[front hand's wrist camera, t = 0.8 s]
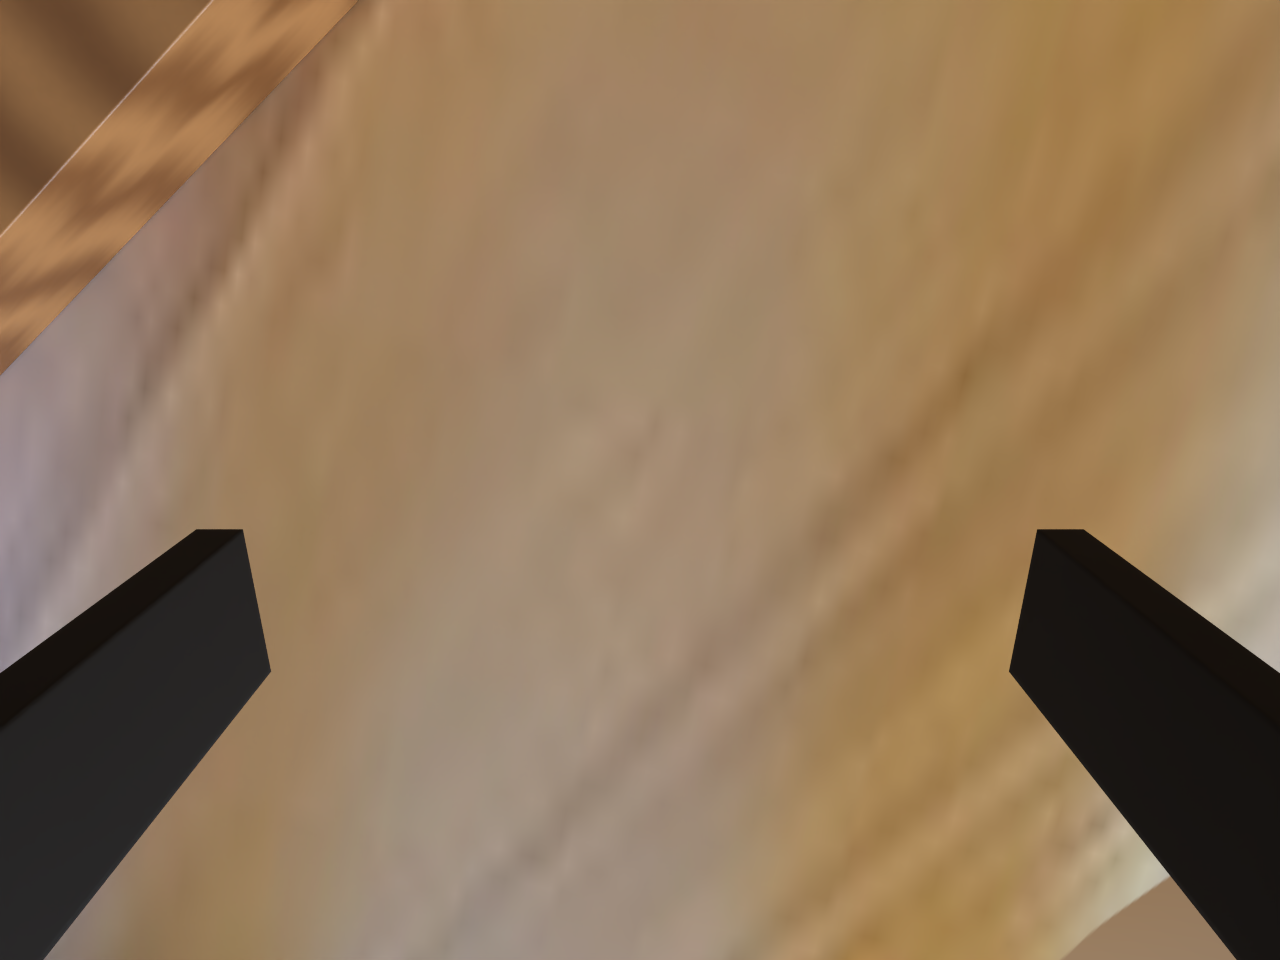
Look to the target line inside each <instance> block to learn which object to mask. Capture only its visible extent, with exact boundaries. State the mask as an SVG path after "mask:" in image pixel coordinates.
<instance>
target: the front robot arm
mask: <svg viewBox="0 0 1280 960" xmlns="http://www.w3.org/2000/svg"><path fill="white" fill-rule="evenodd" d="M270 672H271V669H270V664H269V659H268V654H267V649H266V644H265V639H264V634H263V629H262V624H261V619H260V614H259V609H258V604H257V599H256V594H255V589H254V584H253V579H252V574H251V569H250V563H249V558H248V553H247V548H246V543H245V538H244V533H243V529H196V530H195V531H194V532H192V533H191V534H189V535H188V536H187V537H185V538H184V539H183V540H181V541H180V542H179V543H177V544H176V545H174V546H173V547H172V548H170V549H169V550H168V551H166V552H165V553H164V554H162V555H161V556H159V557H158V558H157V559H155V560H154V561H153V562H151V563H150V564H149V565H147V566H146V567H144V568H143V569H142V570H140V571H139V572H138V573H136V574H135V575H134V576H132V577H131V578H129V579H128V580H127V581H125V582H124V583H123V584H121V585H120V586H119V587H117V588H116V589H114V590H113V591H112V592H110V593H109V594H108V595H106V596H105V597H104V598H102V599H101V600H99V601H98V602H97V603H95V604H94V605H93V606H91V607H90V608H89V609H87V610H86V611H84V612H83V613H82V614H80V615H79V616H78V617H76V618H75V619H74V620H72V621H71V622H69V623H68V624H67V625H65V626H64V627H63V628H61V629H60V630H59V631H57V632H56V633H54V634H53V635H52V636H50V637H49V638H48V639H46V640H45V641H44V642H42V643H41V644H39V645H38V646H37V647H35V648H34V649H33V650H31V651H30V652H29V653H27V654H26V655H24V656H23V657H22V658H20V659H19V660H18V661H16V662H15V663H14V664H12V665H11V666H9V667H8V668H7V669H5V670H4V671H3V672H1V673H0V960H43V959H44V958H45V957H46V956H47V954H48V953H49V952H50V951H51V949H52V948H53V947H54V946H55V944H56V943H57V942H58V940H59V939H60V938H61V937H62V935H63V934H64V933H65V932H66V930H67V929H68V928H69V927H70V925H71V924H72V923H73V922H74V920H75V919H76V918H77V916H78V915H79V914H80V913H81V911H82V910H83V909H84V908H85V906H86V905H87V904H88V903H89V901H90V900H91V899H92V897H93V896H94V895H95V894H96V892H97V891H98V890H99V889H100V887H101V886H102V885H103V884H104V882H105V881H106V880H107V878H108V877H109V876H110V875H111V873H112V872H113V871H114V870H115V868H116V867H117V866H118V865H119V863H120V862H121V861H122V859H123V858H124V857H125V856H126V854H127V853H128V852H129V851H130V849H131V848H132V847H133V846H134V844H135V843H136V842H137V840H138V839H139V838H140V837H141V835H142V834H143V833H144V832H145V830H146V829H147V828H148V827H149V825H150V824H151V823H152V821H153V820H154V819H155V818H156V816H157V815H158V814H159V813H160V811H161V810H162V809H163V808H164V806H165V805H166V804H167V802H168V801H169V800H170V799H171V797H172V796H173V795H174V794H175V792H176V791H177V790H178V789H179V787H180V786H181V785H182V783H183V782H184V781H185V780H186V778H187V777H188V776H189V775H190V773H191V772H192V771H193V770H194V768H195V767H196V766H197V764H198V763H199V762H200V761H201V759H202V758H203V757H204V756H205V754H206V753H207V752H208V751H209V749H210V748H211V747H212V746H213V744H214V743H215V742H216V740H217V739H218V738H219V737H220V735H221V734H222V733H223V732H224V730H225V729H226V728H227V727H228V725H229V724H230V723H231V721H232V720H233V719H234V718H235V716H236V715H237V714H238V713H239V711H240V710H241V709H242V708H243V706H244V705H245V704H246V702H247V701H248V700H249V699H250V697H251V696H252V695H253V694H254V692H255V691H256V690H257V689H258V687H259V686H260V685H261V683H262V682H263V681H264V680H265V678H266V677H267V676H268V675H269V673H270ZM1009 672H1010V673H1011V675H1012V676H1013V677H1014V678H1015V680H1016V681H1017V682H1018V683H1019V685H1020V686H1021V687H1022V689H1023V690H1024V691H1025V692H1026V694H1027V695H1028V696H1029V697H1030V699H1031V700H1032V701H1033V702H1034V704H1035V705H1036V706H1037V708H1038V709H1039V710H1040V711H1041V713H1042V714H1043V715H1044V716H1045V718H1046V719H1047V720H1048V721H1049V723H1050V724H1051V725H1052V727H1053V728H1054V729H1055V730H1056V732H1057V733H1058V734H1059V735H1060V737H1061V738H1062V739H1063V740H1064V742H1065V743H1066V744H1067V746H1068V747H1069V748H1070V749H1071V751H1072V752H1073V753H1074V754H1075V756H1076V757H1077V758H1078V759H1079V761H1080V762H1081V763H1082V764H1083V766H1084V767H1085V768H1086V770H1087V771H1088V772H1089V773H1090V775H1091V776H1092V777H1093V778H1094V780H1095V781H1096V782H1097V783H1098V785H1099V786H1100V787H1101V789H1102V790H1103V791H1104V792H1105V794H1106V795H1107V796H1108V797H1109V799H1110V800H1111V801H1112V802H1113V804H1114V805H1115V806H1116V808H1117V809H1118V810H1119V811H1120V813H1121V814H1122V815H1123V816H1124V818H1125V819H1126V820H1127V821H1128V823H1129V824H1130V825H1131V827H1132V828H1133V829H1134V830H1135V832H1136V833H1137V834H1138V835H1139V837H1140V838H1141V839H1142V840H1143V842H1144V843H1145V844H1146V846H1147V847H1148V848H1149V849H1150V851H1151V852H1152V853H1153V854H1154V856H1155V857H1156V858H1157V859H1158V861H1159V862H1160V863H1161V865H1162V866H1163V867H1164V868H1165V870H1166V871H1167V872H1168V873H1169V875H1170V876H1171V877H1172V878H1173V880H1174V881H1175V882H1176V883H1177V885H1178V886H1179V887H1180V889H1181V890H1182V891H1183V892H1184V894H1185V895H1186V896H1187V897H1188V899H1189V900H1190V901H1191V903H1192V904H1193V905H1194V906H1195V908H1196V909H1197V910H1198V911H1199V913H1200V914H1201V915H1202V916H1203V918H1204V919H1205V920H1206V921H1207V923H1208V924H1209V925H1210V927H1211V928H1212V929H1213V930H1214V932H1215V933H1216V934H1217V935H1218V937H1219V938H1220V939H1221V940H1222V942H1223V943H1224V944H1225V946H1226V947H1227V948H1228V949H1229V951H1230V952H1231V953H1232V954H1233V956H1234V957H1235V958H1236V959H1237V960H1280V673H1279V672H1277V671H1276V670H1275V669H1273V668H1272V667H1271V666H1269V665H1268V664H1266V663H1265V662H1264V661H1262V660H1261V659H1260V658H1258V657H1257V656H1256V655H1254V654H1253V653H1251V652H1250V651H1249V650H1247V649H1246V648H1245V647H1243V646H1242V645H1241V644H1239V643H1238V642H1236V641H1235V640H1234V639H1232V638H1231V637H1230V636H1228V635H1227V634H1226V633H1224V632H1223V631H1221V630H1220V629H1219V628H1217V627H1216V626H1215V625H1213V624H1212V623H1211V622H1209V621H1208V620H1206V619H1205V618H1204V617H1202V616H1201V615H1200V614H1198V613H1197V612H1196V611H1194V610H1193V609H1191V608H1190V607H1189V606H1187V605H1186V604H1185V603H1183V602H1182V601H1181V600H1179V599H1178V598H1176V597H1175V596H1174V595H1172V594H1171V593H1170V592H1168V591H1167V590H1166V589H1164V588H1163V587H1161V586H1160V585H1159V584H1157V583H1156V582H1155V581H1153V580H1152V579H1151V578H1149V577H1148V576H1146V575H1145V574H1144V573H1142V572H1141V571H1140V570H1138V569H1137V568H1136V567H1134V566H1133V565H1131V564H1130V563H1129V562H1127V561H1126V560H1125V559H1123V558H1122V557H1121V556H1119V555H1118V554H1116V553H1115V552H1114V551H1112V550H1111V549H1110V548H1108V547H1107V546H1106V545H1104V544H1103V543H1101V542H1100V541H1099V540H1097V539H1096V538H1095V537H1093V536H1092V535H1091V534H1089V533H1088V532H1086V531H1085V530H1084V529H1037V533H1036V538H1035V543H1034V548H1033V553H1032V558H1031V563H1030V569H1029V574H1028V579H1027V584H1026V589H1025V594H1024V599H1023V604H1022V609H1021V614H1020V619H1019V624H1018V629H1017V634H1016V639H1015V644H1014V649H1013V654H1012V659H1011V664H1010V669H1009Z"/></svg>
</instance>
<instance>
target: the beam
mask: <svg viewBox="0 0 1280 960" xmlns="http://www.w3.org/2000/svg"><path fill="white" fill-rule="evenodd" d="M357 1H358V0H0V375H1V374H2V373H3V372H4V371H5V370H6V369H7V368H8V367H9V366H10V365H11V364H12V362H13V361H14V360H15V359H16V358H17V357H18V356H19V355H20V354H21V353H22V352H23V351H24V350H25V349H26V348H27V347H28V346H29V345H30V344H31V343H32V342H33V340H34V339H35V338H36V337H37V336H38V335H39V334H40V333H41V332H42V331H43V330H44V329H45V328H46V327H47V326H48V325H49V324H50V323H51V322H52V321H53V320H54V319H55V317H56V316H57V315H58V314H59V313H60V312H61V311H62V310H63V309H64V308H65V307H66V306H67V305H68V304H69V303H70V302H71V301H72V300H73V299H74V298H75V297H76V295H77V294H78V293H79V292H80V291H81V290H82V289H83V288H84V287H85V286H86V285H87V284H88V283H89V282H90V281H91V280H92V279H93V278H94V277H95V276H96V275H97V274H98V272H99V271H100V270H101V269H102V268H103V267H104V266H105V265H106V264H107V263H108V262H109V261H110V260H111V259H112V258H113V257H114V256H115V255H116V254H117V253H118V252H119V250H120V249H121V248H122V247H123V246H124V245H125V244H126V243H127V242H128V241H129V240H130V239H131V238H132V237H133V236H134V235H135V234H136V233H137V232H138V231H139V230H140V228H141V227H142V226H143V225H144V224H145V223H146V222H147V221H148V220H149V219H150V218H151V217H152V216H153V215H154V214H155V213H156V212H157V211H158V210H159V209H160V208H161V207H162V205H163V204H164V203H165V202H166V201H167V200H168V199H169V198H170V197H171V196H172V195H173V194H174V193H175V192H176V191H177V190H178V189H179V188H180V187H181V186H182V185H183V183H184V182H185V181H186V180H187V179H188V178H189V177H190V176H191V175H192V174H193V173H194V172H195V171H196V170H197V169H198V168H199V167H200V166H201V165H202V164H203V163H204V162H205V160H206V159H207V158H208V157H209V156H210V155H211V154H212V153H213V152H214V151H215V150H216V149H217V148H218V147H219V146H220V145H221V144H222V143H223V142H224V141H225V140H226V138H227V137H228V136H229V135H230V134H231V133H232V132H233V131H234V130H235V129H236V128H237V127H238V126H239V125H240V124H241V123H242V122H243V121H244V120H245V119H246V118H247V117H248V115H249V114H250V113H251V112H252V111H253V110H254V109H255V108H256V107H257V106H258V105H259V104H260V103H261V102H262V101H263V100H264V99H265V98H266V97H267V96H268V95H269V93H270V92H271V91H272V90H273V89H274V88H275V87H276V86H277V85H278V84H279V83H280V82H281V81H282V80H283V79H284V78H285V77H286V76H287V75H288V74H289V73H290V71H291V70H292V69H293V68H294V67H295V66H296V65H297V64H298V63H299V62H300V61H301V60H302V59H303V58H304V57H305V56H306V55H307V54H308V53H309V52H310V51H311V50H312V48H313V47H314V46H315V45H316V44H317V43H318V42H319V41H320V40H321V39H322V38H323V37H324V36H325V35H326V34H327V33H328V32H329V31H330V30H331V29H332V28H333V26H334V25H335V24H336V23H337V22H338V21H339V20H340V19H341V18H342V17H343V16H344V15H345V14H346V13H347V12H348V11H349V10H350V9H351V8H352V7H353V6H354V5H355V3H356V2H357Z"/></svg>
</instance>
